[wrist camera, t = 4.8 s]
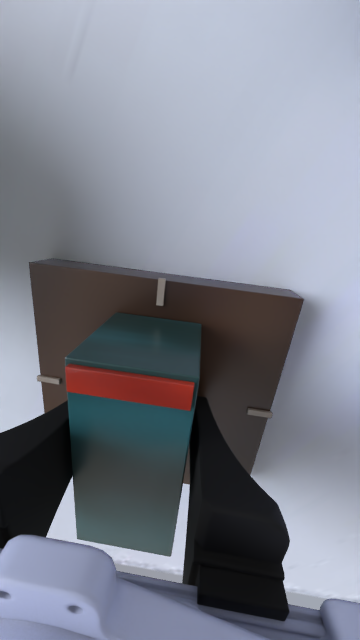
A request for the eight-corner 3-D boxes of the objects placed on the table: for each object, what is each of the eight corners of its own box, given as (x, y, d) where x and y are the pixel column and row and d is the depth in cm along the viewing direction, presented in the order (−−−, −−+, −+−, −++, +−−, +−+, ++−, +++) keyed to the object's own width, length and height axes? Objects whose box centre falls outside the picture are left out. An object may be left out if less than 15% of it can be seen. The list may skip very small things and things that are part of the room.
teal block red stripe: (180, 462, 16) (170, 564, 11) (113, 451, 16) (74, 545, 11) (201, 323, 12) (199, 381, 8) (115, 311, 13) (59, 361, 8)
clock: (292, 288, 13) (308, 298, 11) (241, 469, 18) (246, 498, 16) (49, 256, 14) (23, 260, 12) (63, 438, 19) (46, 462, 17)
